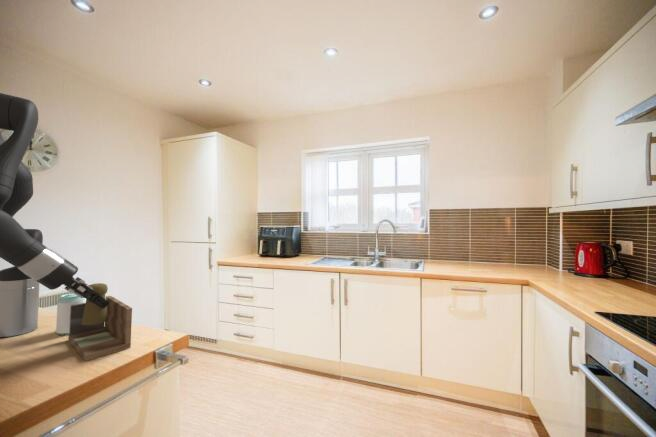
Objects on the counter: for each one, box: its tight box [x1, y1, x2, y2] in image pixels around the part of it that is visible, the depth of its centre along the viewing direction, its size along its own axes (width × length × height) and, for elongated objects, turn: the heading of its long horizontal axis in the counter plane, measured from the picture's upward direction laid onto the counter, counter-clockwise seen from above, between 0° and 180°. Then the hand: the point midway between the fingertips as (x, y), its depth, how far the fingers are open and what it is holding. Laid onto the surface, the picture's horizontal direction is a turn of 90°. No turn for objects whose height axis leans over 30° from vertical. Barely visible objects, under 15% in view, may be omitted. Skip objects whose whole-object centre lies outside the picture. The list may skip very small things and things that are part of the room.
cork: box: [81, 282, 108, 325], centre depth 80 cm, size 6×6×11 cm
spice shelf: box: [67, 295, 133, 362], centre depth 81 cm, size 20×10×12 cm, turn 53°
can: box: [55, 292, 86, 335], centre depth 89 cm, size 7×7×12 cm
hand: (103, 303), depth 81 cm, fingers closed on cork, 4 cm apart
